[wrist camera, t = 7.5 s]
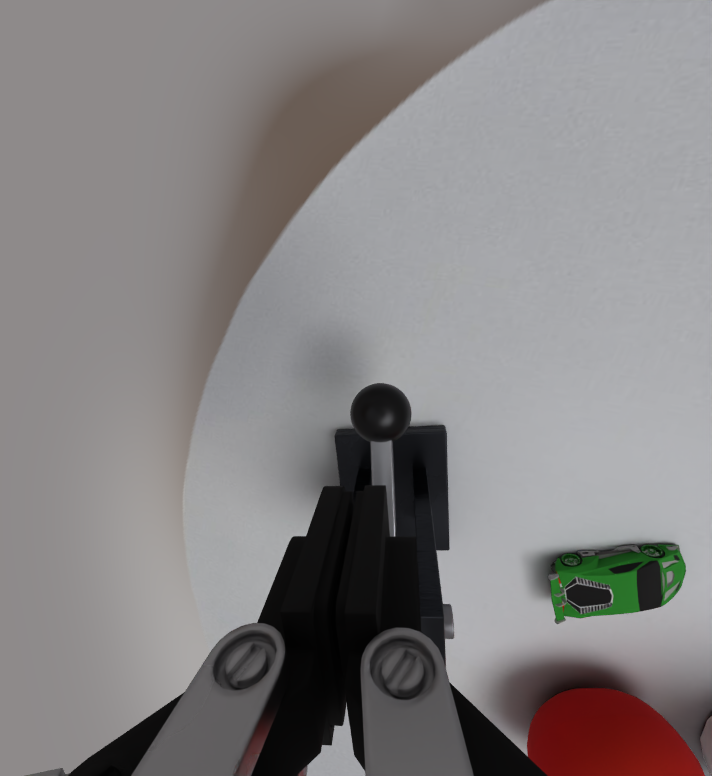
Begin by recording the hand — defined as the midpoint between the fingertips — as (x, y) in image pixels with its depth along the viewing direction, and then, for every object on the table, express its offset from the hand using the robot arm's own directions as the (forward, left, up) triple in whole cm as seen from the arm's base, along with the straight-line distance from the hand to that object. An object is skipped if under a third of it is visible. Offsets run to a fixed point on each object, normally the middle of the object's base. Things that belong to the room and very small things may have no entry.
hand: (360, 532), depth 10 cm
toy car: (+1, +24, -18) cm, 30 cm away
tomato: (+12, +34, -18) cm, 40 cm away
